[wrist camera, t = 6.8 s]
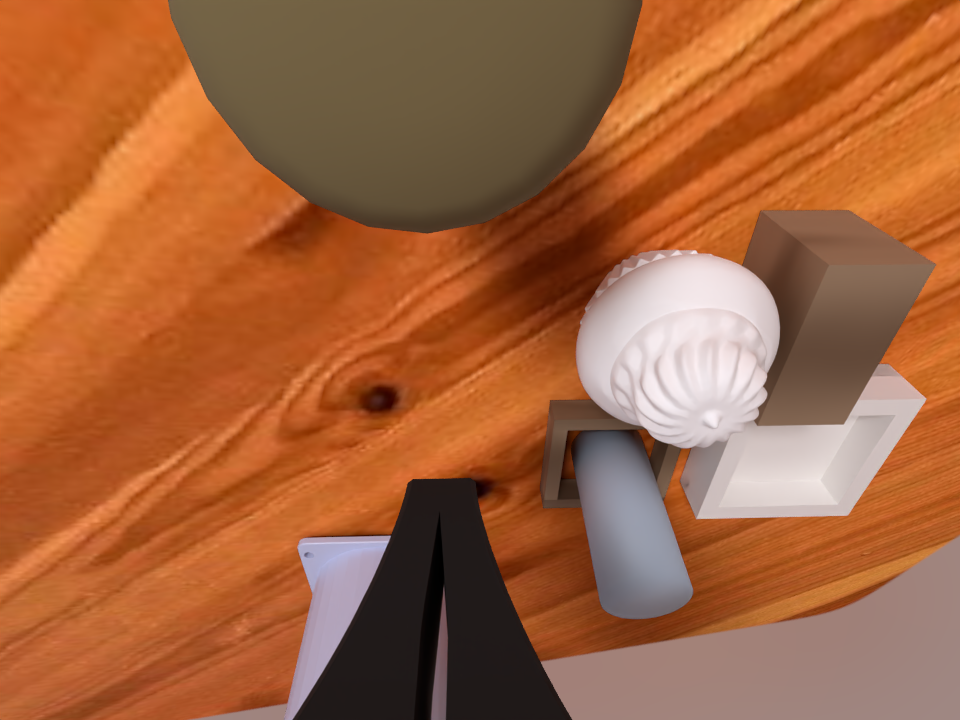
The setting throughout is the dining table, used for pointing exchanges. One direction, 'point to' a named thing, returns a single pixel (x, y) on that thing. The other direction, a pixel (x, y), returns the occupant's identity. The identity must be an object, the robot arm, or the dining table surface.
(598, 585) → the dowel
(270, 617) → the dining table surface
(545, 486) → the socket
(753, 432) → the dish
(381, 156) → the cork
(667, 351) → the muffin
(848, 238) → the block
